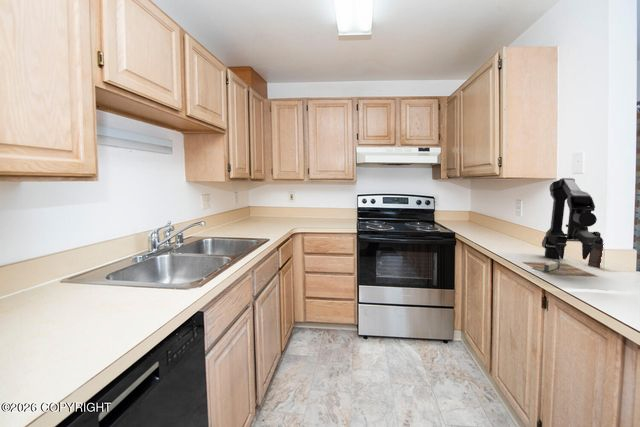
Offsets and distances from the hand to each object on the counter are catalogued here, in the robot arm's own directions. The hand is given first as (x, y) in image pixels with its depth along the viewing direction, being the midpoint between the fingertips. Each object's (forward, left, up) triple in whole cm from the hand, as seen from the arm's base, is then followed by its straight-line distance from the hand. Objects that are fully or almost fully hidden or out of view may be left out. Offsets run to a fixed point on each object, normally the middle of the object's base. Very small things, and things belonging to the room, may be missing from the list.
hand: (572, 258), depth 133 cm
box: (-13, +20, -7) cm, 25 cm away
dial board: (-5, -2, -7) cm, 9 cm away
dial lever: (-3, -6, -6) cm, 9 cm away
